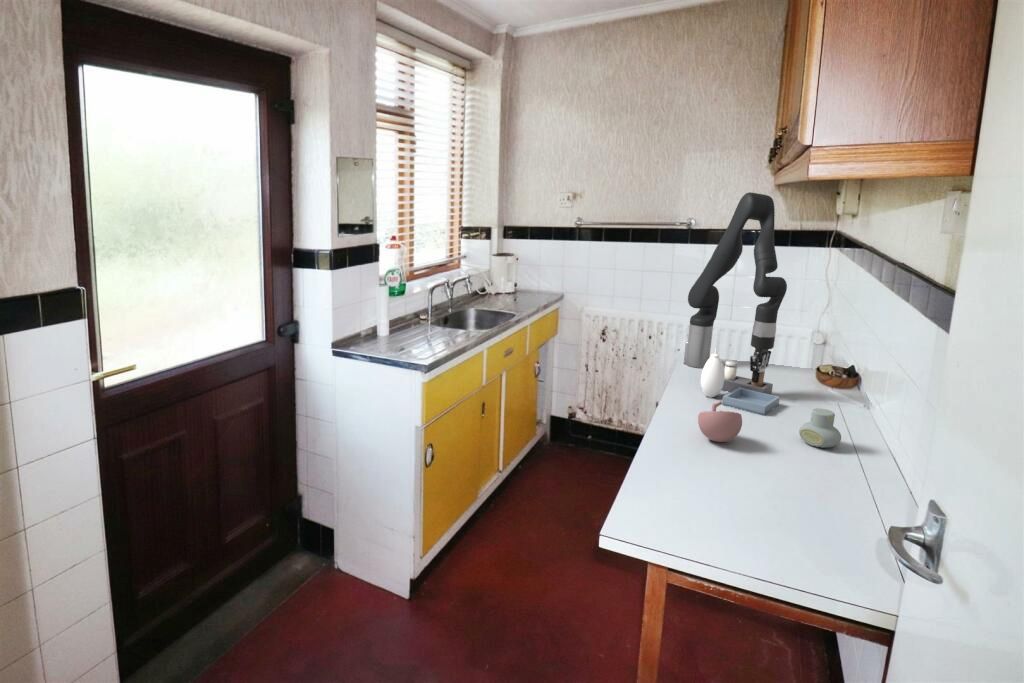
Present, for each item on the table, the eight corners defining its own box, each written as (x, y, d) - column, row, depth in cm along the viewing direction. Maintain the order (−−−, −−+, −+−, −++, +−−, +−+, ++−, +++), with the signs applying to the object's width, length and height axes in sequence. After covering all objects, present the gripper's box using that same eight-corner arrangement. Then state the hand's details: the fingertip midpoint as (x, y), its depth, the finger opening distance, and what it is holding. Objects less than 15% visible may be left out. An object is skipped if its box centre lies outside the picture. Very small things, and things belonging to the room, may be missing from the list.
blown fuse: (747, 394, 221) (751, 367, 218) (752, 392, 224) (755, 365, 221) (759, 397, 218) (762, 370, 216) (763, 394, 221) (766, 368, 219)
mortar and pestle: (732, 433, 184) (736, 397, 182) (745, 449, 173) (750, 411, 170) (691, 431, 185) (695, 395, 182) (701, 447, 173) (706, 409, 170)
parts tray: (722, 404, 209) (723, 396, 208) (738, 395, 219) (739, 387, 219) (763, 415, 200) (765, 406, 199) (778, 405, 210) (780, 397, 210)
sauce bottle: (698, 398, 215) (704, 348, 210) (699, 391, 222) (704, 343, 217) (722, 401, 212) (728, 350, 208) (721, 394, 220) (727, 345, 215)
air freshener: (792, 440, 181) (797, 407, 179) (809, 435, 185) (814, 403, 183) (827, 454, 172) (833, 420, 170) (844, 448, 176) (850, 415, 174)
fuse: (720, 388, 227) (723, 361, 225) (725, 385, 230) (728, 359, 228) (731, 390, 224) (734, 364, 222) (735, 388, 227) (739, 362, 225)
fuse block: (712, 388, 226) (713, 377, 225) (722, 383, 233) (724, 372, 232) (762, 400, 215) (763, 389, 214) (771, 394, 222) (772, 383, 221)
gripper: (760, 329, 223) (754, 374, 227) (745, 335, 213) (739, 382, 217) (781, 332, 218) (775, 379, 222) (767, 339, 208) (760, 387, 212)
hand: (757, 380), depth 219 cm, fingers closed on blown fuse, 4 cm apart
